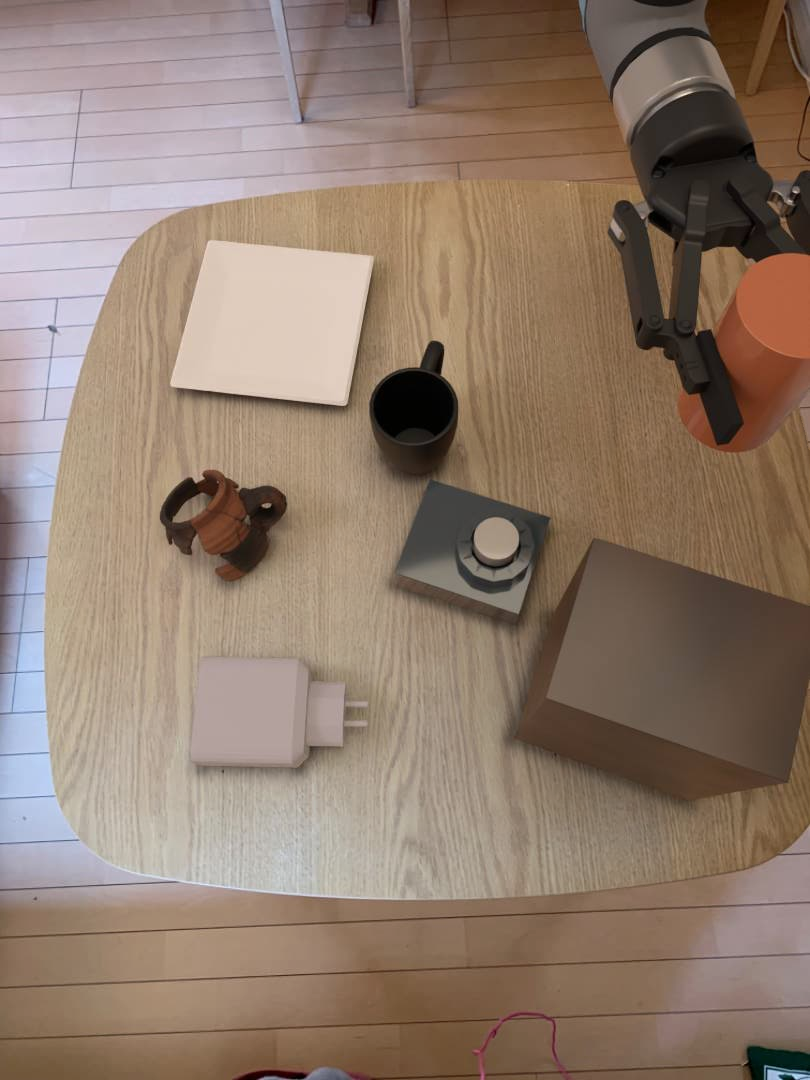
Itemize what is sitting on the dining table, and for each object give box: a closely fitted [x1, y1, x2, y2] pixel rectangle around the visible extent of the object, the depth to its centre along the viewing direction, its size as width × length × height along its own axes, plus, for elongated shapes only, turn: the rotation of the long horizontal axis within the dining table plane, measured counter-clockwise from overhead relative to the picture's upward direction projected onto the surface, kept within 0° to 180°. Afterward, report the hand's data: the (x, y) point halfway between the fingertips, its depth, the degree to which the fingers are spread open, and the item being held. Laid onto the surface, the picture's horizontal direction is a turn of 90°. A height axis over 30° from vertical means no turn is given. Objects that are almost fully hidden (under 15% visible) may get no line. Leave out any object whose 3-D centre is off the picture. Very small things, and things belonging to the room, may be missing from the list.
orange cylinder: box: [677, 253, 810, 453], centre depth 53 cm, size 7×7×12 cm
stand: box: [513, 536, 810, 802], centre depth 67 cm, size 16×12×22 cm
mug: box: [368, 340, 459, 477], centre depth 83 cm, size 8×12×10 cm
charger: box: [189, 655, 370, 769], centre depth 76 cm, size 5×9×15 cm
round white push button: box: [473, 517, 519, 567], centre depth 76 cm, size 4×4×2 cm
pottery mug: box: [159, 469, 288, 582], centre depth 82 cm, size 12×10×8 cm
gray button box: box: [393, 478, 551, 626], centre depth 80 cm, size 12×10×6 cm
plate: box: [169, 239, 375, 407], centre depth 91 cm, size 19×19×2 cm
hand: (792, 423), depth 51 cm, fingers closed on orange cylinder, 7 cm apart
